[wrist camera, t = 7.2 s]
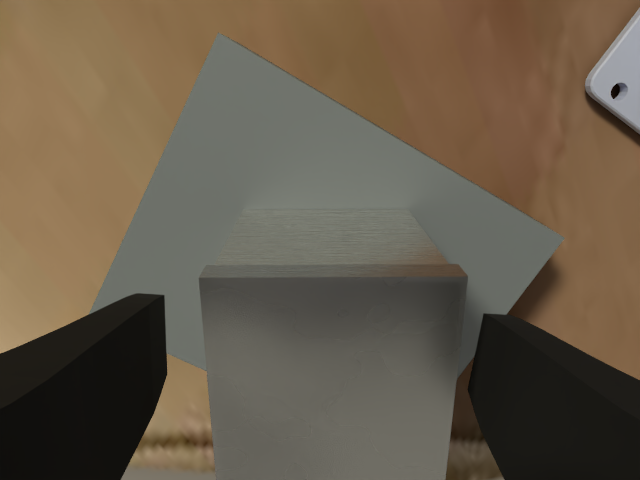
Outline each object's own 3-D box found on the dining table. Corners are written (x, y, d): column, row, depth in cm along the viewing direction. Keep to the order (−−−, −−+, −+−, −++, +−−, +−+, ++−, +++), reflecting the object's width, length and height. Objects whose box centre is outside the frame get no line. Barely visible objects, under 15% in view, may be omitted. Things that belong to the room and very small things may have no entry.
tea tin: (411, 205, 13) (468, 276, 8) (401, 354, 15) (444, 485, 10) (239, 206, 13) (198, 277, 8) (247, 356, 15) (216, 488, 10)
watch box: (521, 211, 17) (572, 242, 14) (388, 395, 19) (404, 460, 16) (238, 42, 15) (218, 32, 12) (129, 272, 17) (87, 317, 14)
